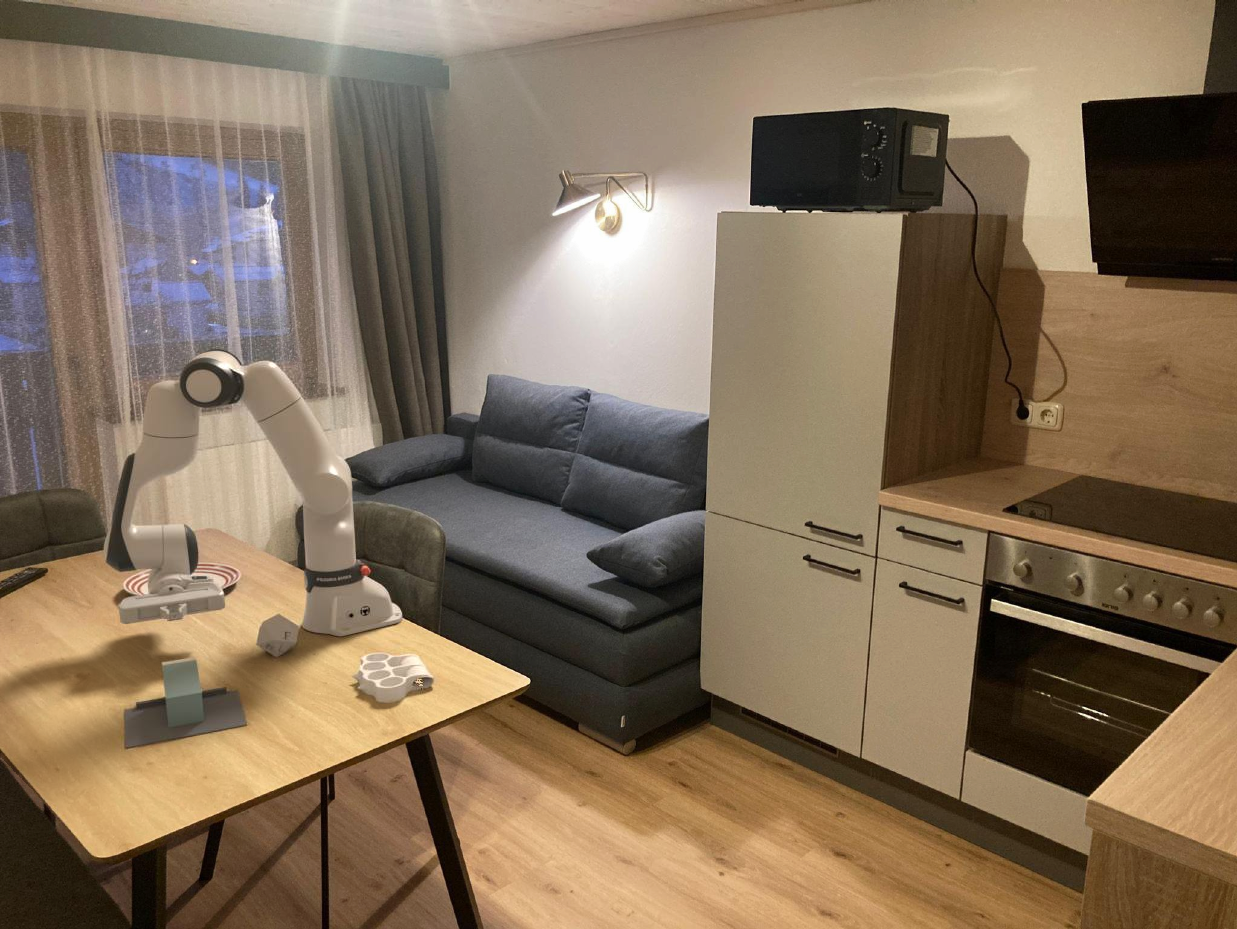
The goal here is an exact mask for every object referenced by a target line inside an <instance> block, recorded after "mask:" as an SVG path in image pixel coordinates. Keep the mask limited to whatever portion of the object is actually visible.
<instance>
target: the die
mask: <svg viewBox="0 0 1237 929" xmlns="http://www.w3.org/2000/svg"><path fill="white" fill-rule="evenodd" d="M298 633H299V625H298V624H297V623H294V622H293V621H291V619H288V618H286V617H285V616H284V615H281V614H280V613H277V614H275V615H273V616H271V617H269V618H268V619H265V620H264V621H262V622H261V625H260V626H259V629H258V634H257V639H256V643H255V645H256V646H257V647H260V648H261V649H262V650H264V651H265V652H268V653H269V654H270V655H271V656H273V657H275V658H278V657H280V656H282V655H284V654H285V653H287V652H289V651H290V650H293V648H294V647H295V646H296V643H297V640H298V635H299V634H298Z"/></svg>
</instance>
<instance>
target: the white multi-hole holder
mask: <svg viewBox="0 0 1237 929" xmlns="http://www.w3.org/2000/svg"><path fill="white" fill-rule="evenodd" d="M351 678H353V679H356V680H358V683H359V686H358V687H356V689H357V690H361V691H362V692H364V693H365V694H366V695H370V696H373V697H375V702H379V703H385V704H386V703H387V704H388V703H389V704H390V703H395V702H398V701H401V700H403V699H405V698H406V696H407V694H408V693H410V692H412V691H416V690H424V689H423V688H425V689H427V688H430V687H431V686H433V684H434V683H435V679H434V676H433V675H432V674H431V673H430V672H429V670H428V668H427V666H426V665H425V664H424V663H423V661H422V660H421V656H419V655H417V654H413V653H412V654H407V653H405V654H400V655H391V654H389V653H386V652H372V653H368V654H365V655H363V656H362V657H361V658H360V665H359V666H358V672H356V673H354V674H353V675H351ZM417 679H422V680H420V681H421V682H423V683H420V684H422V685H423V686H419V685H420V684H419V683H416V682H415V681H417ZM418 681H419V680H418ZM421 688H422V689H421ZM409 691H410V692H409Z"/></svg>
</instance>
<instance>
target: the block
mask: <svg viewBox="0 0 1237 929" xmlns="http://www.w3.org/2000/svg"><path fill="white" fill-rule="evenodd" d="M161 665H162V667H161V668H162V676H163V688H164V697H165V698H166V708H167V717H168V727H169V728H170V727H175V726H180V725H186V724H191V723H196V722H202V721H204V712H203V700H202V691H203V690H202V685H201V681H200V680H201V679H200V674H199V673H200V672H199V668H198V662H197V656H194V657H193V656H192V657H188V658H182V659H174V660H169V661H162V662H161Z"/></svg>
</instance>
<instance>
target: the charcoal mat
mask: <svg viewBox="0 0 1237 929" xmlns="http://www.w3.org/2000/svg"><path fill="white" fill-rule="evenodd" d="M201 691H202V700H203V712H204V721H202V722H196V723H191V724H186V725H180V726H175V727H170V728H169V727H168V717H167V708H166V698H165V696H164V697H159V698H151V699H146V700H143V701H136V702H135V707H130V708H125V709H124V743H125V744H124V748H125V749H126V750H127V749H132V748H136V747H142V746H146V745H151V744H153V745H154V744H157V743H162V742H167V741H172V740H173V741H174V740H177V739H184V738H189V737H194V736H199V735H204V734H209V733H214V732H219V731H224V730H231V729H236V728H240V727H245V726H248V723H247V720H246V715H245V713H244V709H243V705H242V702H241V697H240V693H239V690H238V689H232V690H228V689H227V686H222V687H216V688H211V689H205V690H201Z"/></svg>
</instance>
